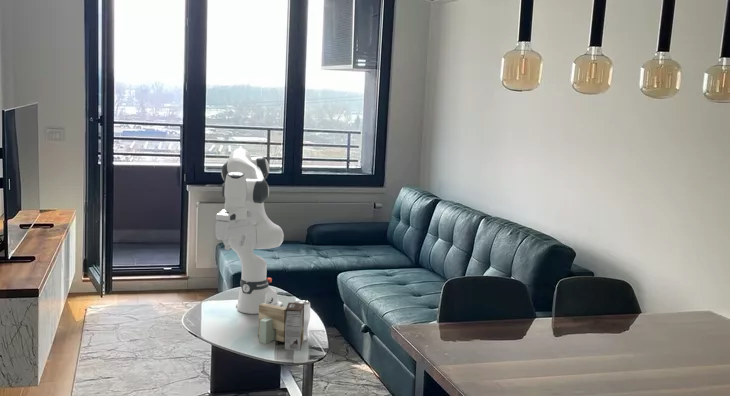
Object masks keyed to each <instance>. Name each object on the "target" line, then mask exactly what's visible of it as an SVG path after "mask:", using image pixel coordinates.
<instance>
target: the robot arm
mask: <svg viewBox="0 0 730 396" xmlns="http://www.w3.org/2000/svg"><path fill="white" fill-rule="evenodd" d="M269 172H270V164H269V161H268V160H267V158H266V157H264V156H259V155H257V156H254V157H252V155H251V153H250V152H249V151H248V150H247V149H246V148H236V149H234V150H233V151H232V152H231V153H230V155H229V157H228V159H227V161H226V162H225V163H224V164H223V165H222V166H221V172H220V175H221V178H222V180H223V181H224V182H223V183H222V184H221V188H222V189H221V190H222V192H221V197H222V198H223V199H224V207H223V209H221V211H219V212H218V213H216V215H215V219H216V222H215V229H214V230H215V231H214V232H215V234H214V235H215V238H216V239H217V240H218V241H222V243H223V245H224V250H225V251H229V250H233V251H234V252H235V253H236V255H237V256H238V258H239V260H240V265H241V266H240V267H241V278H240V282H239V284H240V288H239V290H238V298H237V303H236V305H235V307H236V308H237V309H236V310H237V311H238V312H240V313H242V314H249V315H251V314H252V315H254V314H256V315H257V314H258V315H259V305H260V304H263V303H265V304H270V305H275V306H280V307H282V306H283V302H282V301H280V300H278V292H277V291H275V290H274V289H273V288H272V287H270V283H272V280H273V278H272V277H267V273H268V272H267V267H268V265H267V261H266V260H265V259H264V258H263V257H262V256H259V255H256V254H255V253H254V250H263V249H265V250H266V249H267V250H269V249H274V248H278V247H280V246H281V245H282V243H283V242H284V237H285V235H284V231H283V229H282V227H281V226H279V225H278V224H276V223H274V222H273V221H272V220H271V219H270V218H269V217H268V215H267V213H266V210H265V202H266V201H267V200H268V198H269V196H270V188H269V184H268V181H266V179H268V177H269V174H270V173H269Z"/></svg>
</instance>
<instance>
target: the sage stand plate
mask: <svg viewBox="0 0 730 396" xmlns="http://www.w3.org/2000/svg"><path fill="white" fill-rule="evenodd" d="M258 337H259V338H258V339H259V342H260V344H264V345H266V344H269V343H270V342H272V341H274V340H275V341H276V329H273V319H272V318H267V317H266V318H264V319H262V320H260V335H259V336H258Z"/></svg>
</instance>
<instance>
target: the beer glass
mask: <svg viewBox="0 0 730 396" xmlns="http://www.w3.org/2000/svg"><path fill="white" fill-rule="evenodd" d="M293 303H304V337H303V343H304V342H307V341H308V340H309V334H308V333H309V332H308V331H309V324H310V320H311V319H310V318H311V302H310V301H308V300H295V301H293Z"/></svg>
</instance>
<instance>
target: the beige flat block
mask: <svg viewBox="0 0 730 396" xmlns="http://www.w3.org/2000/svg"><path fill="white" fill-rule="evenodd" d="M286 308H287V307H284V306H275V305H270V304H265V303H263V304H260V305H259V313H258V329H257V330H258V334H257V336H258V337H259V335H260V320H262V319H264V318H266V317H267V318H272V319H273V329H276V339H275V341H277V342H282V343H285V321H286Z"/></svg>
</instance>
